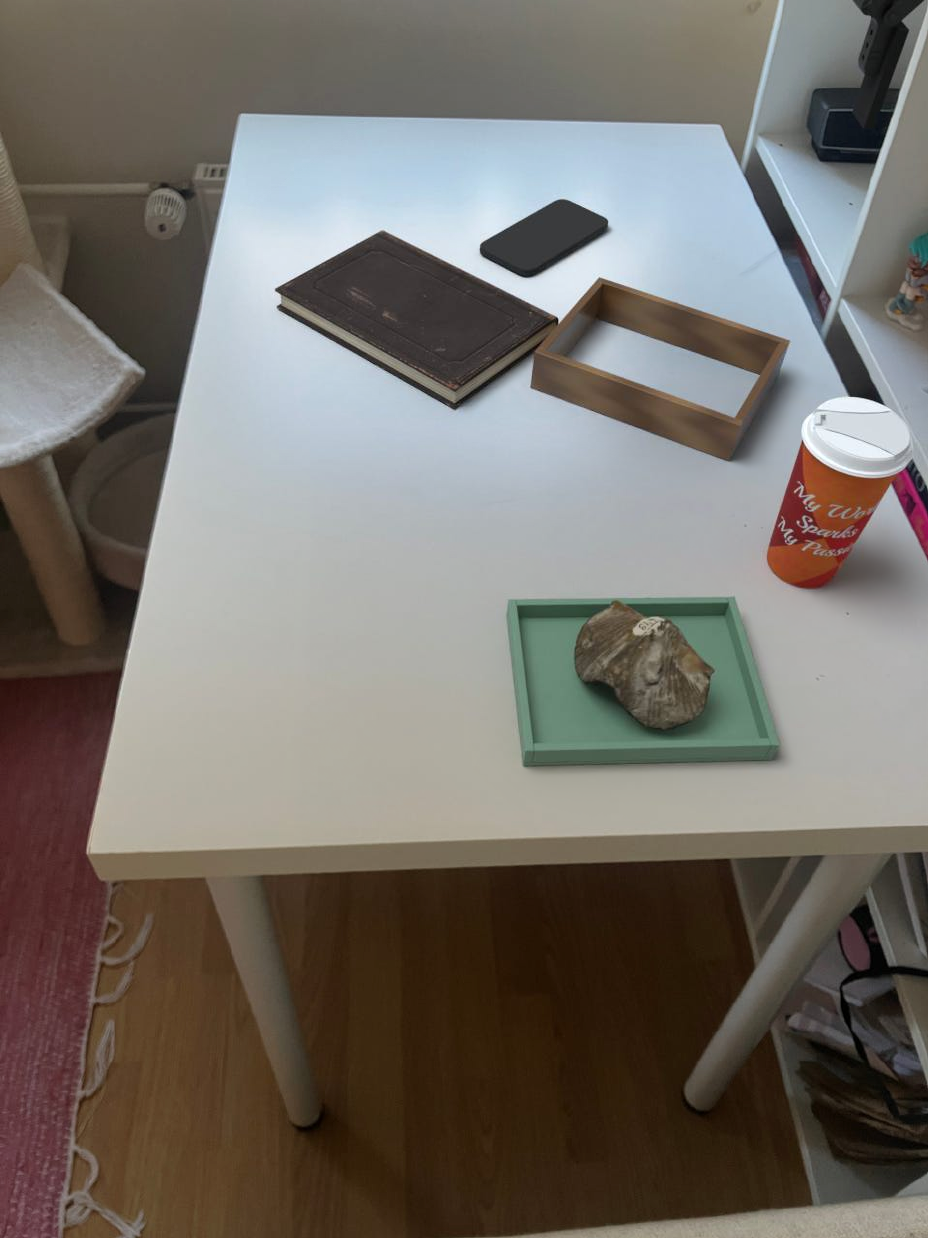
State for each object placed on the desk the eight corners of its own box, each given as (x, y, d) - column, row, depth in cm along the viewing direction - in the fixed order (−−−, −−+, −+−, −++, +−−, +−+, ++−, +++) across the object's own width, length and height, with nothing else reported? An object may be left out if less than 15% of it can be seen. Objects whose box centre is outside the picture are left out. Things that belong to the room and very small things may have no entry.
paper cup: (750, 587, 79) (805, 450, 68) (755, 520, 84) (808, 383, 73) (851, 608, 78) (923, 473, 67) (850, 540, 83) (918, 403, 72)
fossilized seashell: (741, 690, 69) (651, 607, 75) (712, 648, 64) (619, 564, 70) (660, 764, 69) (578, 676, 76) (625, 728, 64) (541, 637, 71)
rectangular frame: (778, 375, 97) (790, 340, 94) (728, 461, 88) (740, 425, 85) (593, 312, 102) (599, 276, 99) (529, 387, 94) (534, 351, 91)
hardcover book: (453, 409, 91) (454, 388, 89) (276, 308, 100) (274, 288, 98) (557, 334, 99) (560, 314, 98) (385, 247, 108) (385, 227, 106)
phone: (474, 245, 108) (561, 196, 115) (474, 252, 108) (560, 203, 116) (528, 272, 105) (613, 220, 112) (527, 279, 105) (612, 227, 113)
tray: (728, 612, 77) (734, 596, 76) (772, 760, 69) (780, 745, 67) (506, 615, 76) (508, 599, 74) (522, 766, 67) (525, 750, 66)
